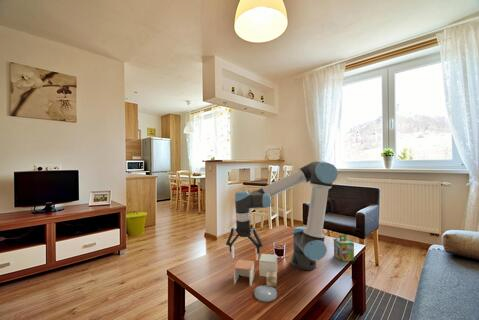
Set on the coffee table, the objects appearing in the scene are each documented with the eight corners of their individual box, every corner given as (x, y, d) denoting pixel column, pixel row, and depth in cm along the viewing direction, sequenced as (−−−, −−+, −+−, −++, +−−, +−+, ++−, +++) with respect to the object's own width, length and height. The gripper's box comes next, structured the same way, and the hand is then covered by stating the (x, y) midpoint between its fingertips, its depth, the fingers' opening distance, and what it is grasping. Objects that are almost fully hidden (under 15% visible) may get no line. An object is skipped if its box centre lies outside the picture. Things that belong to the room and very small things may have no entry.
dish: (277, 289, 108) (277, 286, 108) (276, 303, 97) (275, 300, 97) (256, 286, 111) (256, 284, 111) (252, 299, 100) (252, 297, 100)
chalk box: (341, 262, 135) (340, 238, 135) (333, 255, 144) (332, 233, 144) (354, 261, 136) (354, 237, 136) (346, 254, 145) (345, 233, 145)
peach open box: (254, 276, 120) (253, 261, 120) (251, 285, 111) (250, 269, 111) (238, 274, 122) (238, 259, 122) (234, 283, 114) (233, 267, 114)
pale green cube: (277, 269, 127) (276, 255, 127) (275, 277, 118) (275, 262, 118) (262, 268, 130) (261, 253, 130) (259, 275, 121) (259, 260, 121)
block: (277, 281, 115) (276, 272, 115) (276, 286, 110) (275, 277, 110) (267, 280, 116) (267, 271, 116) (266, 285, 111) (266, 276, 111)
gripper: (266, 218, 118) (268, 256, 117) (223, 217, 124) (225, 253, 124) (264, 222, 110) (266, 263, 110) (219, 221, 117) (221, 259, 116)
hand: (244, 258), depth 117 cm, fingers open, 13 cm apart
